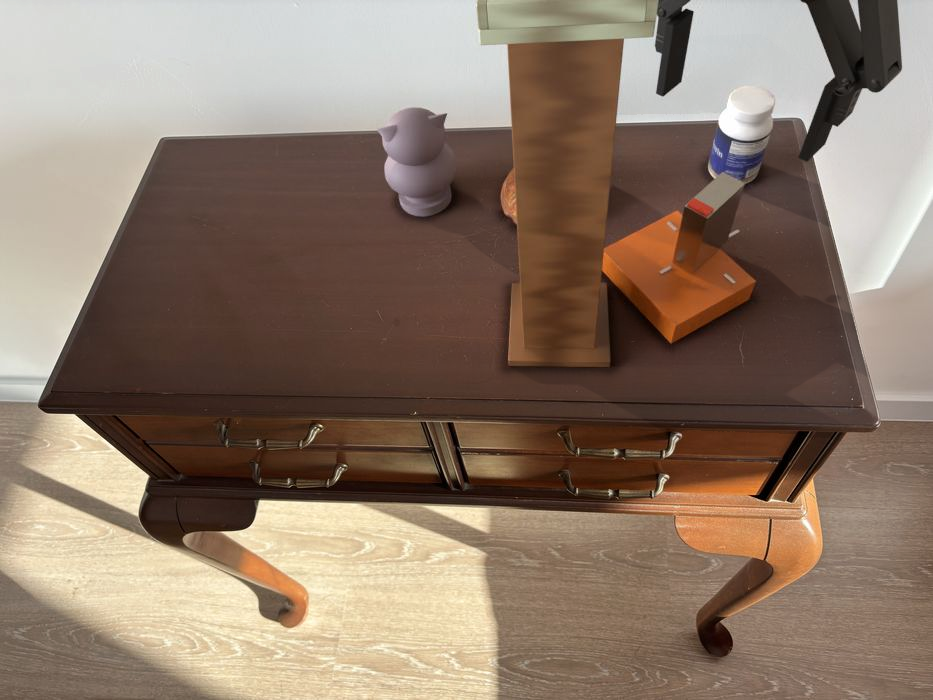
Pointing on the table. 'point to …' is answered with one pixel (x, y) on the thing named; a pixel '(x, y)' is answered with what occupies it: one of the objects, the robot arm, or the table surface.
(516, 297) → the brown wooden square column
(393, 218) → the table surface
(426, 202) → the cat figurine
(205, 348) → the table surface
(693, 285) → the orange flat square block
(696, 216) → the steel brick red tip
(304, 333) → the table surface
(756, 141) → the pill bottle
